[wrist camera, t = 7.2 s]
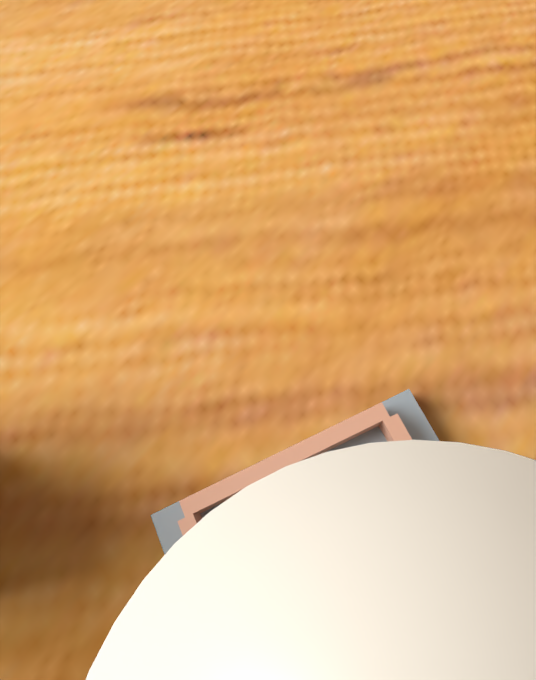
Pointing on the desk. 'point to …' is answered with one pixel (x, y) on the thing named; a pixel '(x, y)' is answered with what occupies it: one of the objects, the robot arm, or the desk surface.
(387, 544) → the white cylinder
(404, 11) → the desk surface
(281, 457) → the socket board
